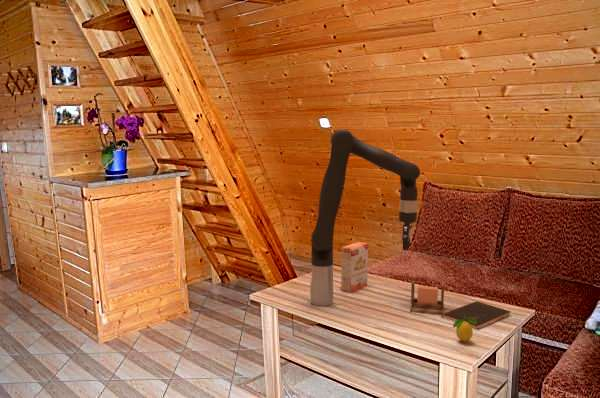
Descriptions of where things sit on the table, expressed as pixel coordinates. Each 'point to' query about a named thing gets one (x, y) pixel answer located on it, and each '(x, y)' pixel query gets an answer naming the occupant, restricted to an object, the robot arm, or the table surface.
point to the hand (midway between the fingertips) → (406, 247)
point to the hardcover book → (477, 313)
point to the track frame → (427, 307)
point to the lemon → (464, 328)
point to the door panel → (427, 295)
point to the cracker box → (354, 266)
